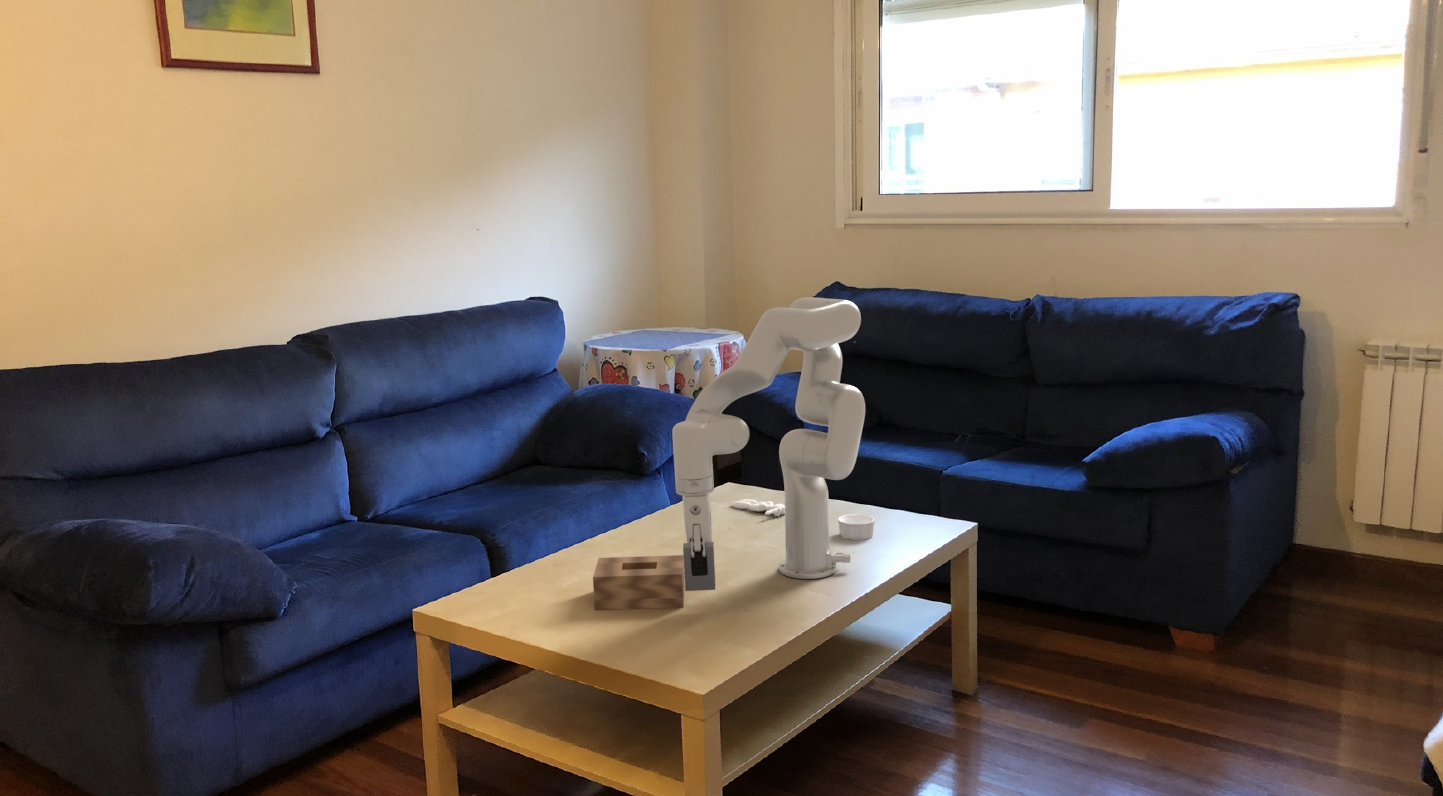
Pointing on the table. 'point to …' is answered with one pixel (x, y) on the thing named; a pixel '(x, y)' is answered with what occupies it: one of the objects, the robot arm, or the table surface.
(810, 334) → the robot arm
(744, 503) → the decorative figure
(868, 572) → the table surface
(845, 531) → the ramekin
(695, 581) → the grey rectangular block
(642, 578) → the tan slotted block
